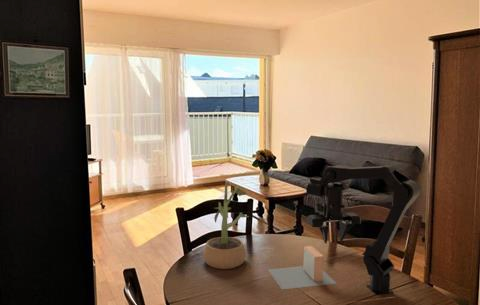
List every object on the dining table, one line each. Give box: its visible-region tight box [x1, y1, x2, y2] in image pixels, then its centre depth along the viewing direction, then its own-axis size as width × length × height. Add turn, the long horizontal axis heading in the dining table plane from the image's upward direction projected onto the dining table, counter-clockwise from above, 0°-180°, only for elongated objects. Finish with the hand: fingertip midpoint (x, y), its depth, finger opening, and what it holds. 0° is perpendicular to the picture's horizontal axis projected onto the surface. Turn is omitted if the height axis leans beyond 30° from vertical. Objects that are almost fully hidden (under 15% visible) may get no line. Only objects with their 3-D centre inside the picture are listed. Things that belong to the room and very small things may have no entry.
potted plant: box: [202, 182, 250, 270], centre depth 155 cm, size 22×18×30 cm
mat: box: [267, 265, 338, 290], centre depth 141 cm, size 16×20×1 cm
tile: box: [302, 245, 324, 282], centre depth 141 cm, size 10×3×9 cm, turn 13°
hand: (332, 242), depth 142 cm, fingers open, 6 cm apart
